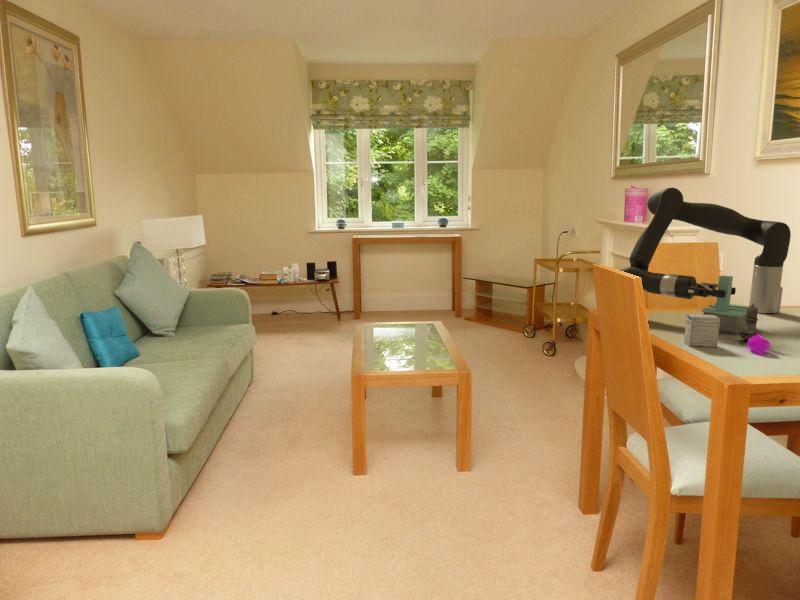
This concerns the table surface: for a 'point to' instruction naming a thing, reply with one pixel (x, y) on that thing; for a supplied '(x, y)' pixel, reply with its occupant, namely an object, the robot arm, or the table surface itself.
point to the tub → (729, 323)
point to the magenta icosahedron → (758, 344)
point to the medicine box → (702, 330)
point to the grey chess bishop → (749, 325)
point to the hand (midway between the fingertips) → (730, 292)
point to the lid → (726, 300)
